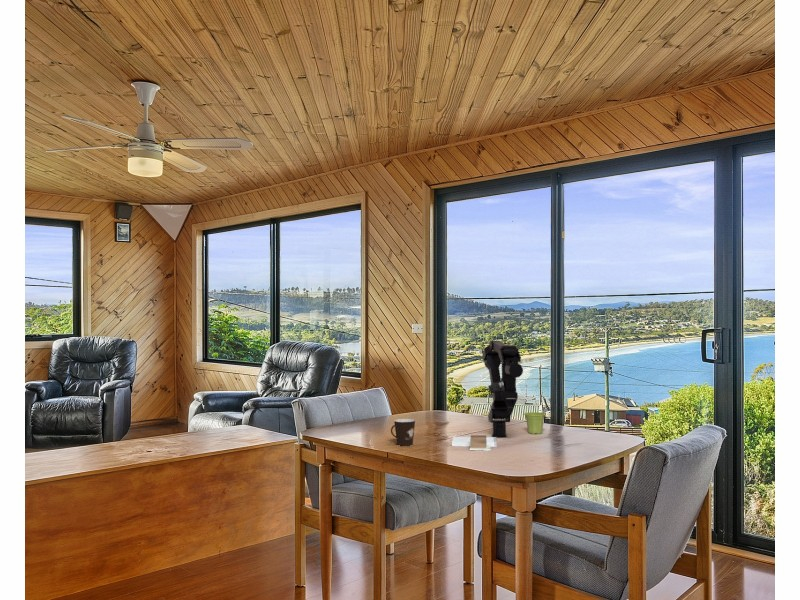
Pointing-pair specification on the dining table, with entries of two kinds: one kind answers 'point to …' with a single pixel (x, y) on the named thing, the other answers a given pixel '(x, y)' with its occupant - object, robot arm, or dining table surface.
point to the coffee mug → (404, 431)
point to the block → (478, 441)
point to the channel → (467, 442)
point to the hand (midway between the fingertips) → (509, 413)
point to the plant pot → (534, 422)
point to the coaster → (488, 448)
